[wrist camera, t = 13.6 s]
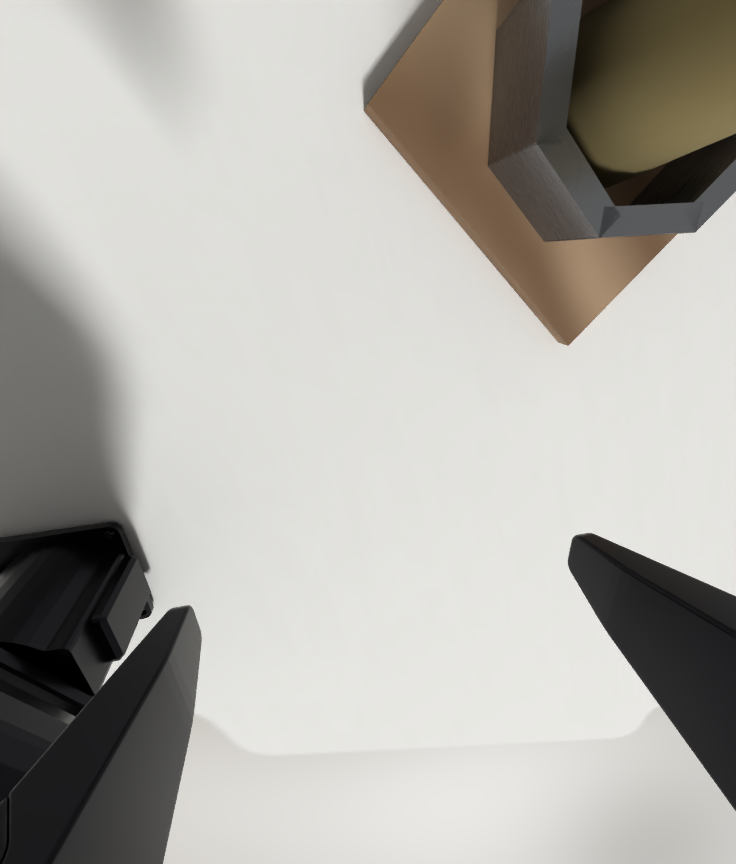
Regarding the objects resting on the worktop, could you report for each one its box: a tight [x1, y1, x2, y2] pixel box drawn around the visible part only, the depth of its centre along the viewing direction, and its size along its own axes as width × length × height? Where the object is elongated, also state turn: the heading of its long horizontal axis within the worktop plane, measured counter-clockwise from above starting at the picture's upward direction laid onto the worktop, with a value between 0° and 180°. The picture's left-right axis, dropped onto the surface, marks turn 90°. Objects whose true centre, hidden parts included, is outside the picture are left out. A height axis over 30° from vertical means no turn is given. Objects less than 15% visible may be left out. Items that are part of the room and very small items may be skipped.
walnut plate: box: [364, 0, 677, 345], centre depth 16 cm, size 14×14×1 cm
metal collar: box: [488, 0, 736, 242], centre depth 14 cm, size 10×10×4 cm
